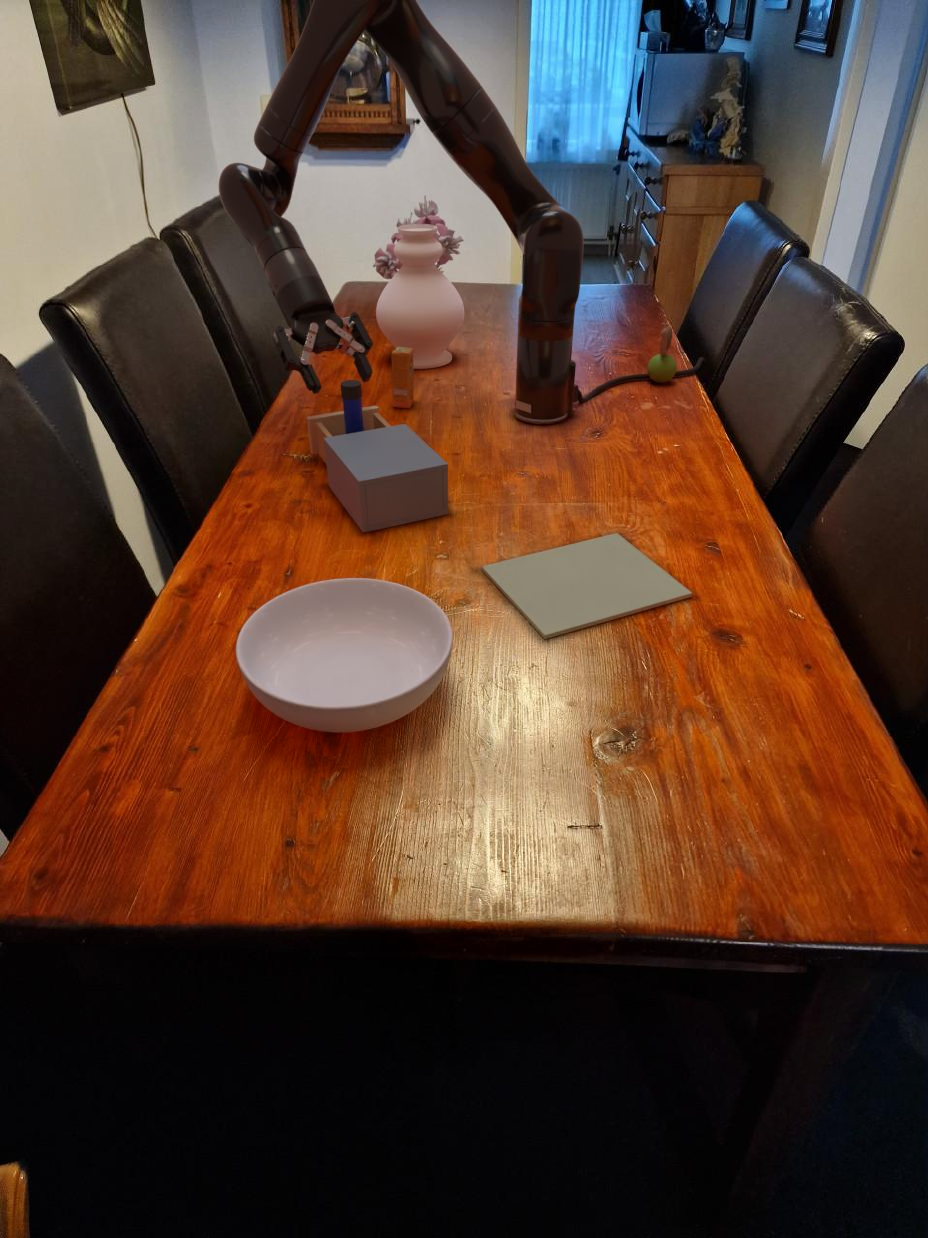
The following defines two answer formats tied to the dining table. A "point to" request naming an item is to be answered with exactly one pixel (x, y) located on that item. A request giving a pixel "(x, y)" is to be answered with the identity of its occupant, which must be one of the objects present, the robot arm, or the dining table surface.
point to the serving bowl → (345, 653)
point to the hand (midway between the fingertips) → (343, 385)
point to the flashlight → (352, 406)
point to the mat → (583, 584)
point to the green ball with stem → (663, 359)
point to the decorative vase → (420, 300)
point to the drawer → (338, 427)
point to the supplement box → (402, 377)
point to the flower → (389, 262)
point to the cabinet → (386, 477)
